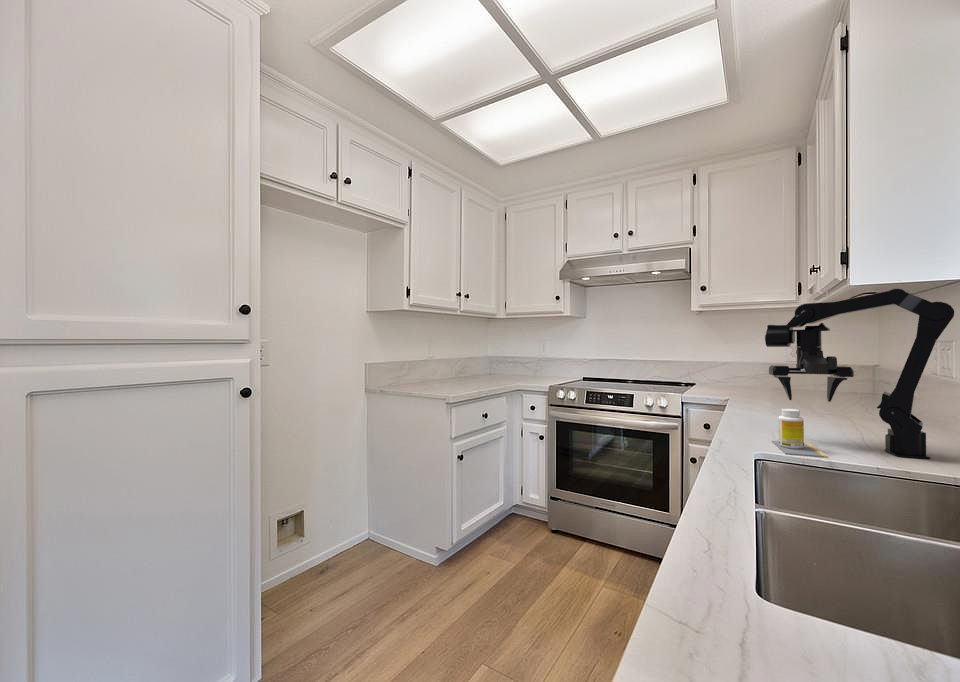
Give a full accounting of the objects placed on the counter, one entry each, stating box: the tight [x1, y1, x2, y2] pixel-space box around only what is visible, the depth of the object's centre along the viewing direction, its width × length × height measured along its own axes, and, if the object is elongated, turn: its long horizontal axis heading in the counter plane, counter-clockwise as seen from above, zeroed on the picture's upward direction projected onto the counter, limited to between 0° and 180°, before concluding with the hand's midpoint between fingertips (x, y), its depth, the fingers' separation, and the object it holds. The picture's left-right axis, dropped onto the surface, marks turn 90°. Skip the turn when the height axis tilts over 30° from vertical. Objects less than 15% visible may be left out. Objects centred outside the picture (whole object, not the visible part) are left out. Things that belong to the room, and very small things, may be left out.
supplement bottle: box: [777, 408, 805, 449], centre depth 115 cm, size 6×6×10 cm
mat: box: [771, 440, 829, 458], centre depth 114 cm, size 9×15×1 cm, turn 157°
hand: (809, 400), depth 122 cm, fingers open, 9 cm apart
